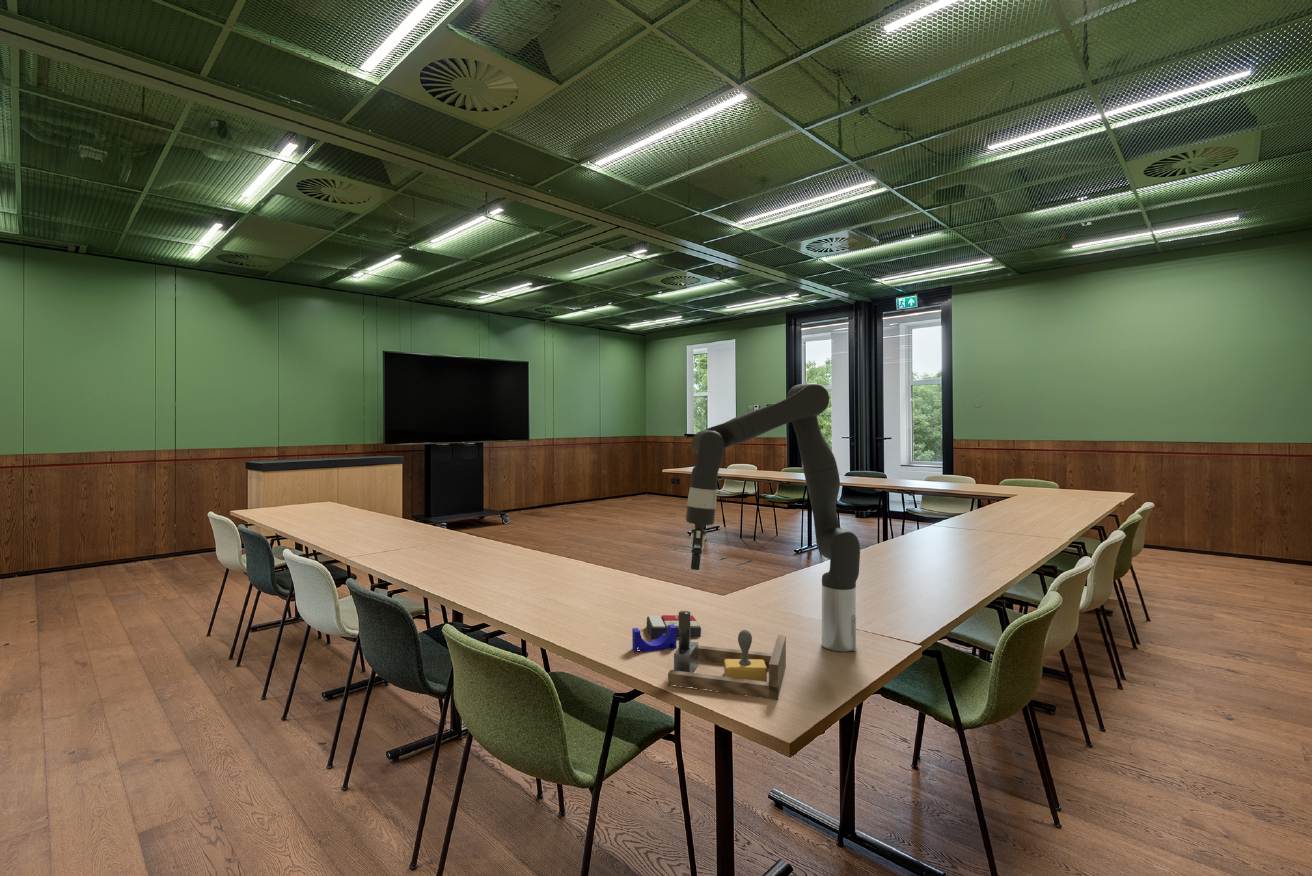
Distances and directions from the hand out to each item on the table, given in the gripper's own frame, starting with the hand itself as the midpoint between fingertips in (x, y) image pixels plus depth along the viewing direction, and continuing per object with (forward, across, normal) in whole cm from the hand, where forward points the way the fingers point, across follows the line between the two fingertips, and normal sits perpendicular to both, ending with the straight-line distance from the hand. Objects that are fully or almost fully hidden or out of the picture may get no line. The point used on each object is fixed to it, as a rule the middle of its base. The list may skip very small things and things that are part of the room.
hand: (695, 566), depth 158 cm
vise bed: (+24, -8, -12) cm, 28 cm away
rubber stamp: (+25, -8, -15) cm, 30 cm away
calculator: (+26, +24, +5) cm, 35 cm away
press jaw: (+25, -5, 0) cm, 26 cm away
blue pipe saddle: (+26, +10, +9) cm, 30 cm away
